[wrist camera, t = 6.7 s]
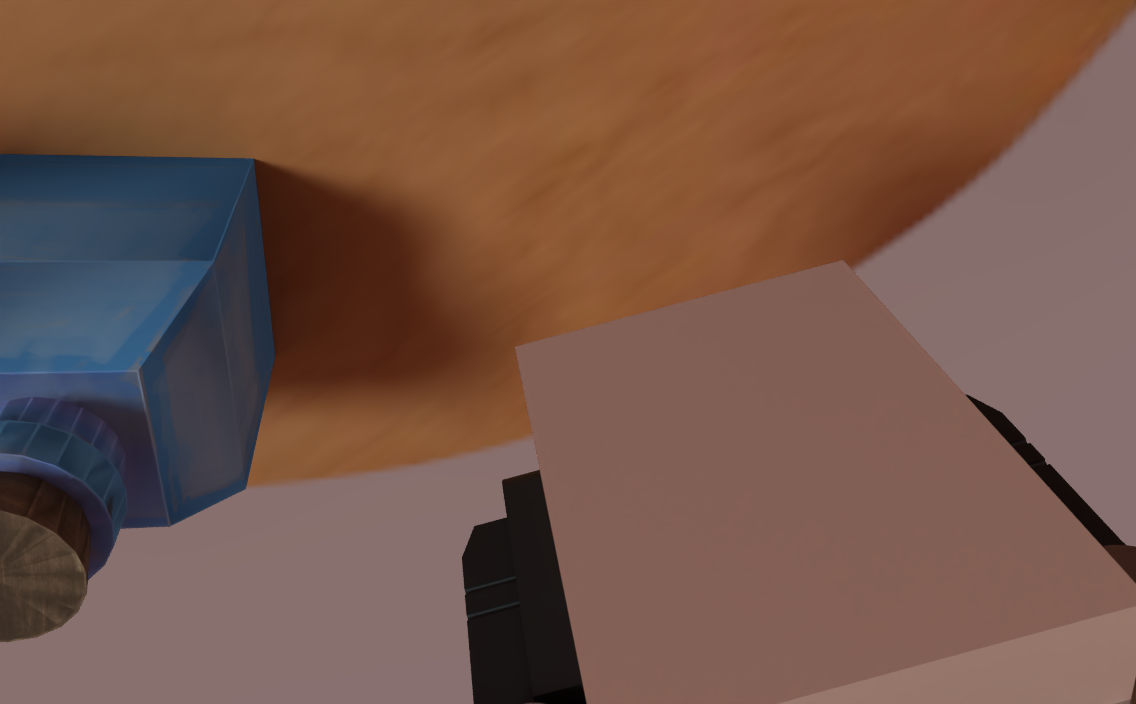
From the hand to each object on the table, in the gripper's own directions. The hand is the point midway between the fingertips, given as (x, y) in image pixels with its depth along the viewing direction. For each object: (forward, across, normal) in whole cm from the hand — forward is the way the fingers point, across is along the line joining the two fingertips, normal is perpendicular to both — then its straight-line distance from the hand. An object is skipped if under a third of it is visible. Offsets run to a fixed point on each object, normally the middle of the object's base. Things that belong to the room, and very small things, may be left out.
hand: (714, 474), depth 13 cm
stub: (+1, 0, 0) cm, 1 cm away
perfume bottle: (+15, +12, +1) cm, 19 cm away
